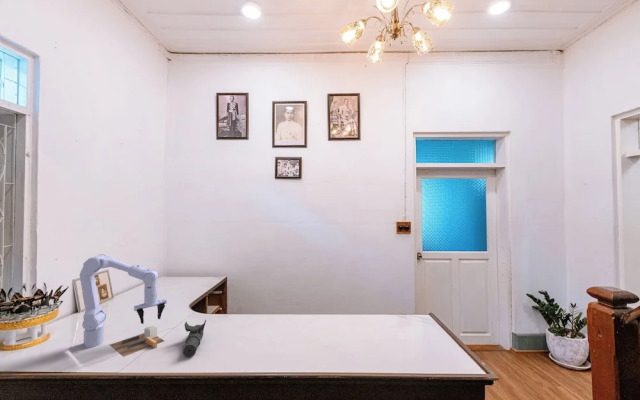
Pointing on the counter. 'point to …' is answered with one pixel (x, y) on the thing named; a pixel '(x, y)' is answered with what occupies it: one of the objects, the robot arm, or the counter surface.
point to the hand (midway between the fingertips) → (150, 320)
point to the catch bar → (151, 342)
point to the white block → (150, 331)
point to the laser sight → (193, 338)
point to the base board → (133, 344)
